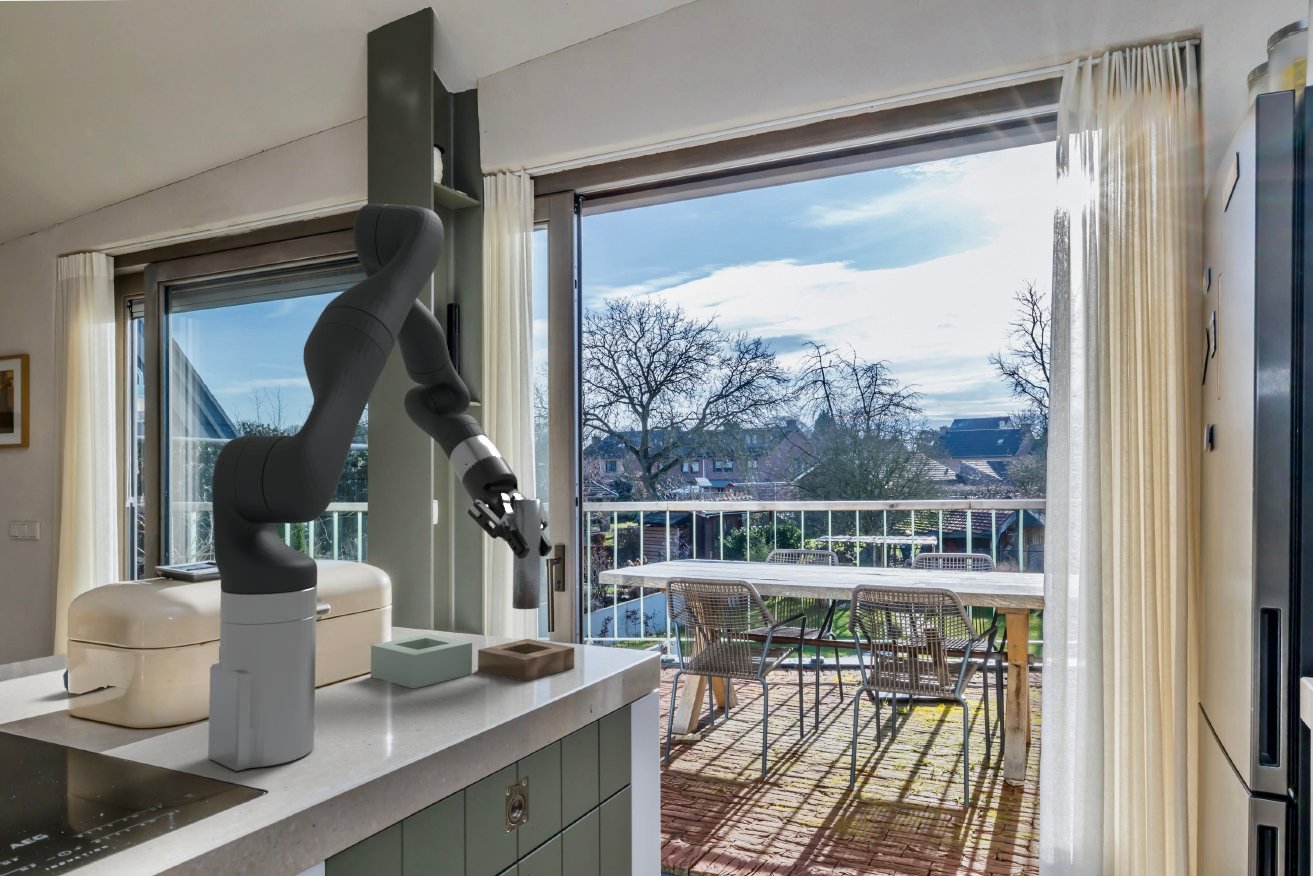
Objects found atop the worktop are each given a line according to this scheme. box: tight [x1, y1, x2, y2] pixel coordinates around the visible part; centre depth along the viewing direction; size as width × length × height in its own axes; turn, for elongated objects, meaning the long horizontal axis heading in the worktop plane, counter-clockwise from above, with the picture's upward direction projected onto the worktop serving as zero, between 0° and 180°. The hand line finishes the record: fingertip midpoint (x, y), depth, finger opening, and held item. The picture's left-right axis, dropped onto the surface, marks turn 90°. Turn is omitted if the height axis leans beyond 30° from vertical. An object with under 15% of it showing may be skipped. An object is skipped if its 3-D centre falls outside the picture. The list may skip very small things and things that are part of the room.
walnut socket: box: [477, 638, 575, 682], centre depth 123 cm, size 10×10×3 cm
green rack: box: [370, 633, 473, 689], centre depth 119 cm, size 10×10×4 cm
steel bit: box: [512, 498, 542, 610], centre depth 123 cm, size 4×4×16 cm
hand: (536, 553), depth 122 cm, fingers closed on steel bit, 4 cm apart
